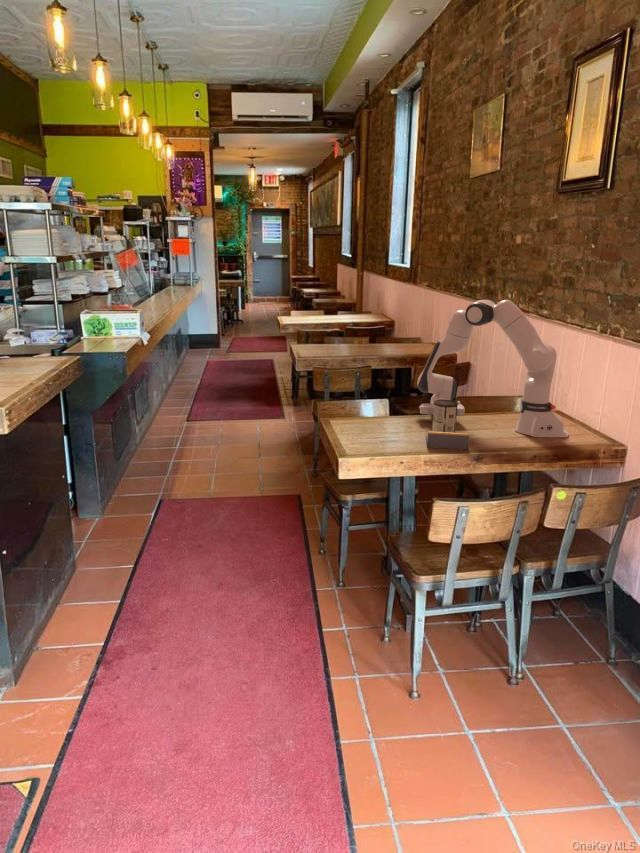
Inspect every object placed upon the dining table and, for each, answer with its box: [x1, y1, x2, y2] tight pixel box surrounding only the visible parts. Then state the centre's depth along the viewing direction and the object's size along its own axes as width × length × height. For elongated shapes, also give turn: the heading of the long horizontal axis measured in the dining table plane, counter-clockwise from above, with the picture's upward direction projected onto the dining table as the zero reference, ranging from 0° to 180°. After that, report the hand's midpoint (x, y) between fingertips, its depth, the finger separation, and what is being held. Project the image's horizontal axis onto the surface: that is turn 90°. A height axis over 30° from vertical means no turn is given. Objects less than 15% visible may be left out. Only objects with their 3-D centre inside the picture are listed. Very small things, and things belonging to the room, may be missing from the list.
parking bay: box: [425, 430, 470, 451], centre depth 259 cm, size 16×13×7 cm
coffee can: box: [431, 399, 458, 433], centre depth 273 cm, size 10×10×14 cm
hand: (443, 414), depth 282 cm, fingers closed
